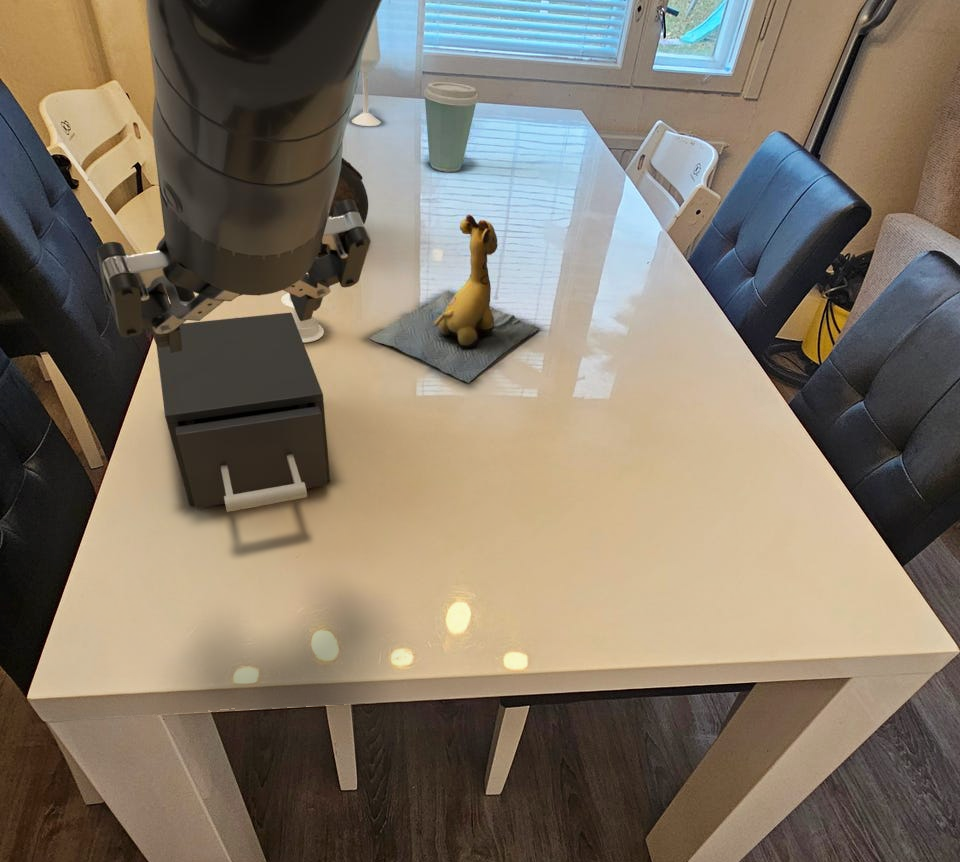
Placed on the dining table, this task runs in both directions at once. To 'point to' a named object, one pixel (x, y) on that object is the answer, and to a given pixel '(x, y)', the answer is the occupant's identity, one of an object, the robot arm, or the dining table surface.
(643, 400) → the dining table surface
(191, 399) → the dark gray cabinet
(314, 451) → the drawer
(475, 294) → the stuffed giraffe
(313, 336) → the candle
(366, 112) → the champagne flute
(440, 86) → the disposable coffee cup
